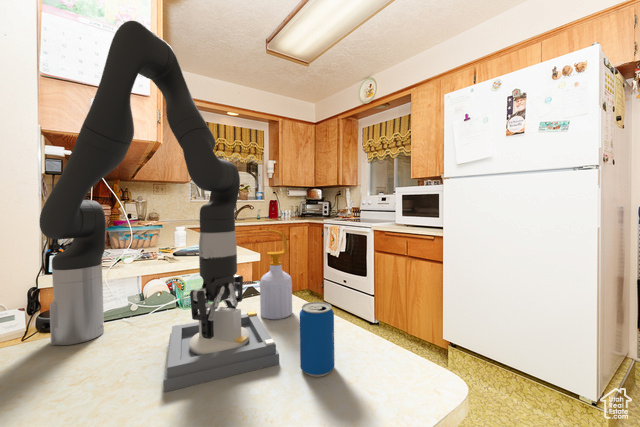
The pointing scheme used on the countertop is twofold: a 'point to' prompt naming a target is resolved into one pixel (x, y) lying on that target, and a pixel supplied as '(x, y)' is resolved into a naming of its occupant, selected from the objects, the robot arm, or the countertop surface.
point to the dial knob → (221, 333)
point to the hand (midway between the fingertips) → (220, 330)
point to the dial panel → (217, 355)
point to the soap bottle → (276, 288)
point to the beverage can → (317, 339)
